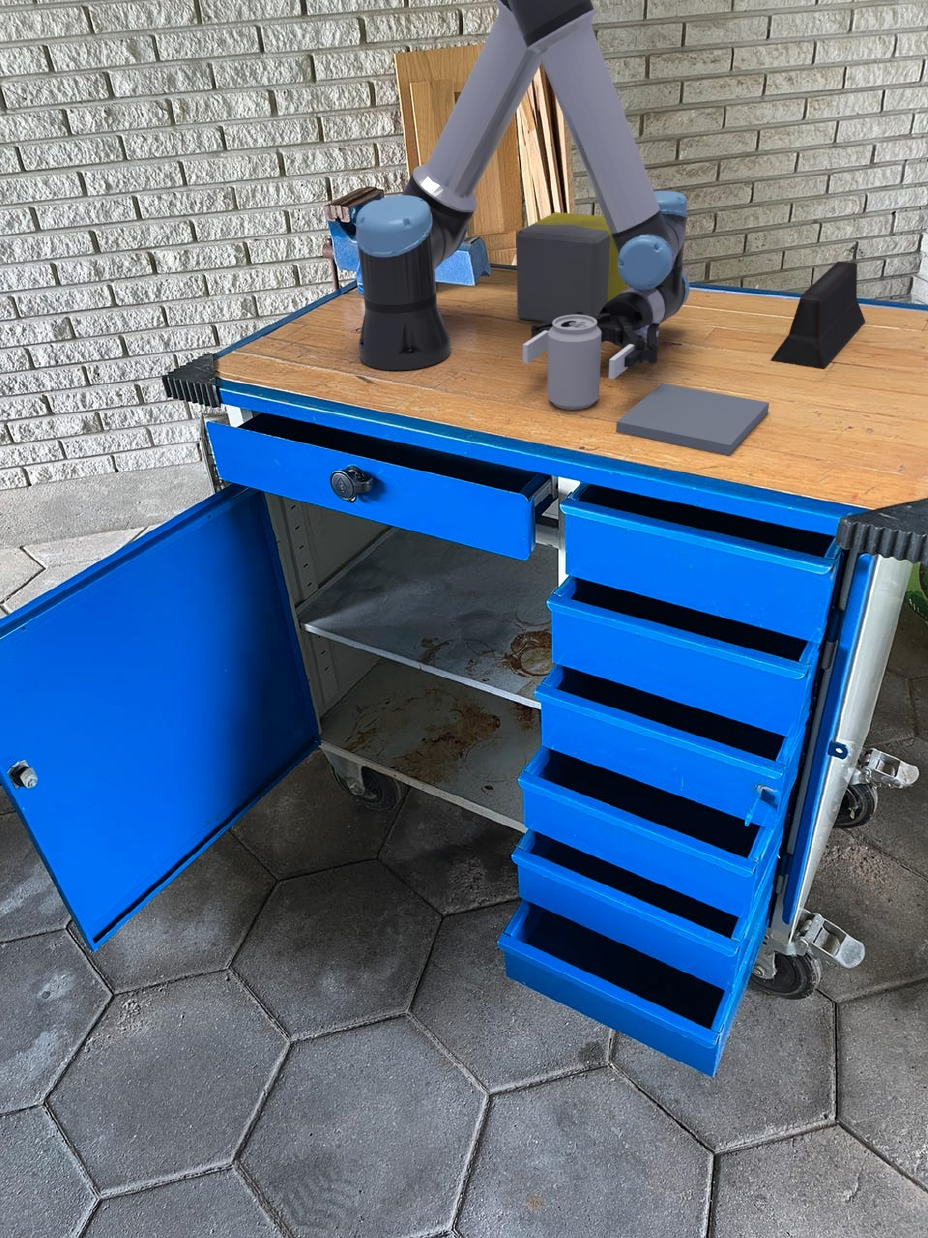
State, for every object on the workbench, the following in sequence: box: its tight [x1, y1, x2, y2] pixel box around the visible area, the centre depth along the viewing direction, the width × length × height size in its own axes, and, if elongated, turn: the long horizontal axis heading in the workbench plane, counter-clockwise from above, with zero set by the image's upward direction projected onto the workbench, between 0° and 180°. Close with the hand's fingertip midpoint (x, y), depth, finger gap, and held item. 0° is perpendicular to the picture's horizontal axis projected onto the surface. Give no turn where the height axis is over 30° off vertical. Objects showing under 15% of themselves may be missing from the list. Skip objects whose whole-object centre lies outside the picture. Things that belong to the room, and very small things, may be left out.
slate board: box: [615, 382, 770, 456], centre depth 132 cm, size 16×15×2 cm
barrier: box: [769, 261, 866, 370], centre depth 152 cm, size 24×9×10 cm, turn 147°
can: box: [547, 315, 602, 411], centre depth 137 cm, size 8×8×12 cm
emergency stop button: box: [515, 211, 628, 323], centre depth 171 cm, size 15×24×15 cm, turn 149°
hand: (567, 361), depth 135 cm, fingers open, 13 cm apart
